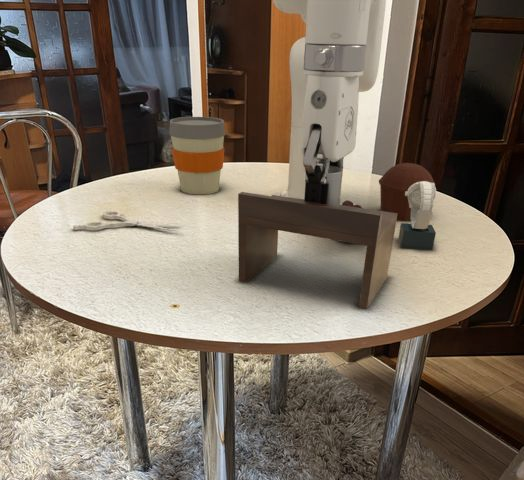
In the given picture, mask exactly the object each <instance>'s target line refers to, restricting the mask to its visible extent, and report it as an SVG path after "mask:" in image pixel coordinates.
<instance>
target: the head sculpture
mask: <svg viewBox="0 0 524 480" xmlns="http://www.w3.org/2000/svg"><path fill="white" fill-rule="evenodd" d="M434 183H435V182H434ZM434 183H430V182H426V181H421V182H417V183H415V184H413V185H411V186H410V187H409V189H408V191H406V192H405V196H408V201H409V208H411V211H412V212H411V220H410V223H407V222H403V223H402V222H401V223H400V227H399V234H398V238H397V241H398V244H399V246H400V247H399V248H400V249H413V250H426V251H427V250H428V251H429V250H430V251H433V248H434V244H435V239H436V234H437V232H436V230H435V228H434V226H433V224H430V223H431V220H432V215H433V207H434V201H435V199H436V196H437V188H436V183H435V184H434ZM416 213H417V214H416Z"/></svg>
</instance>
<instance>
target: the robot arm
mask: <svg viewBox="0 0 524 480" xmlns="http://www.w3.org/2000/svg"><path fill="white" fill-rule="evenodd" d="M272 3H273V4H274V6H275V7H276V8H277V10H279V11H280V12H282V13H285V14H287V15H288V14H289V15H300V17H301V21H303V23H305V36H303V37H301V38H298V39H297V40H296V41H295V42H294V43H293V44H292V45H291V48H290V51H289V60H288V61H289V62H288V63H289V65H288V66H289V77H290V89H291V114H290V115H291V116H290V139H289V157H288V159H289V161H288V181H287V182H288V183H287V189H286V190H284V191H282V192H280V196H284V197H291V198H297V199H304V201H306V202H313V203H320V204H327V201H328V190H329V184H328V183H326V182H327V176H328V171H329V166H335V167H339V168H341V169H342V170H343V171H344V158H345V157H348V155H350V154H351V153H352V152H354V150H355V147H356V142H357V127H358V114H359V99H360V98H359V96H360V95H359V93H364V92H368V91H370V90H372V88H373V87H374V85H375V84H376V80H377V78H378V75H379V74H378V73H379V66H380V59H381V50H382V49H381V48H382V40H383V33H384V24H385V23H384V21H385V15H386V4H387V0H272ZM319 165H323V168H322V171H321V168H320V166H319Z"/></svg>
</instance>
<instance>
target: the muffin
mask: <svg viewBox="0 0 524 480" xmlns="http://www.w3.org/2000/svg"><path fill="white" fill-rule="evenodd" d="M421 181H426V182H430V183H434V184H435V185H436V182H435V180H434V178H433V176H432V174H431V173H430V172H429V171H428V170H427V169H426V168H425V167H423V166H422V165H420V164H418V163H414V162H402V163H398V164H395V165H393V166H392V167H390V168H388V169H387V170H386V171H385V173H384V174H383V175H382V176H381V177H380V178H379V179H378V183H379V187H380V188H379V189H380V191H379V192H380V211H385V212H392V213H397V220H398V221H411V212H412V211H411V208H409V201H408V196H405V192H406V191H408V189H409V187H410V186H411V185H413V184H415V183H417V182H421ZM416 214H417V213H416ZM397 220H396V221H397Z"/></svg>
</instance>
